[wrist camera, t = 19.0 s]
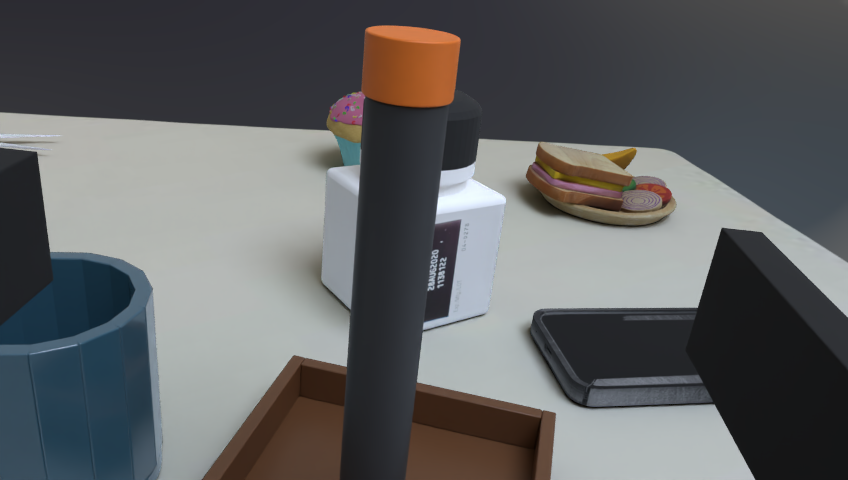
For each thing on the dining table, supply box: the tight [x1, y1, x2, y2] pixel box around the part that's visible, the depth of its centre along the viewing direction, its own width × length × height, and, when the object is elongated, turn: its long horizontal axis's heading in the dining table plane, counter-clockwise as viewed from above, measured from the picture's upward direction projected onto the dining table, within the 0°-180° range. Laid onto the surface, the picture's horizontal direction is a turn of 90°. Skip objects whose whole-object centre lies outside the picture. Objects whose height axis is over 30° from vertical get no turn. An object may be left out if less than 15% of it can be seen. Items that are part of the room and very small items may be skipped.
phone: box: [530, 308, 713, 407], centre depth 39 cm, size 8×1×15 cm
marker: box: [339, 26, 461, 480], centre depth 21 cm, size 2×2×18 cm
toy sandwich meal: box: [526, 142, 676, 225], centre depth 62 cm, size 12×14×5 cm
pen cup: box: [0, 252, 163, 480], centre depth 26 cm, size 7×7×8 cm
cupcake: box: [327, 92, 365, 166], centre depth 63 cm, size 9×8×12 cm
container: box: [321, 89, 506, 330], centre depth 41 cm, size 8×8×13 cm
